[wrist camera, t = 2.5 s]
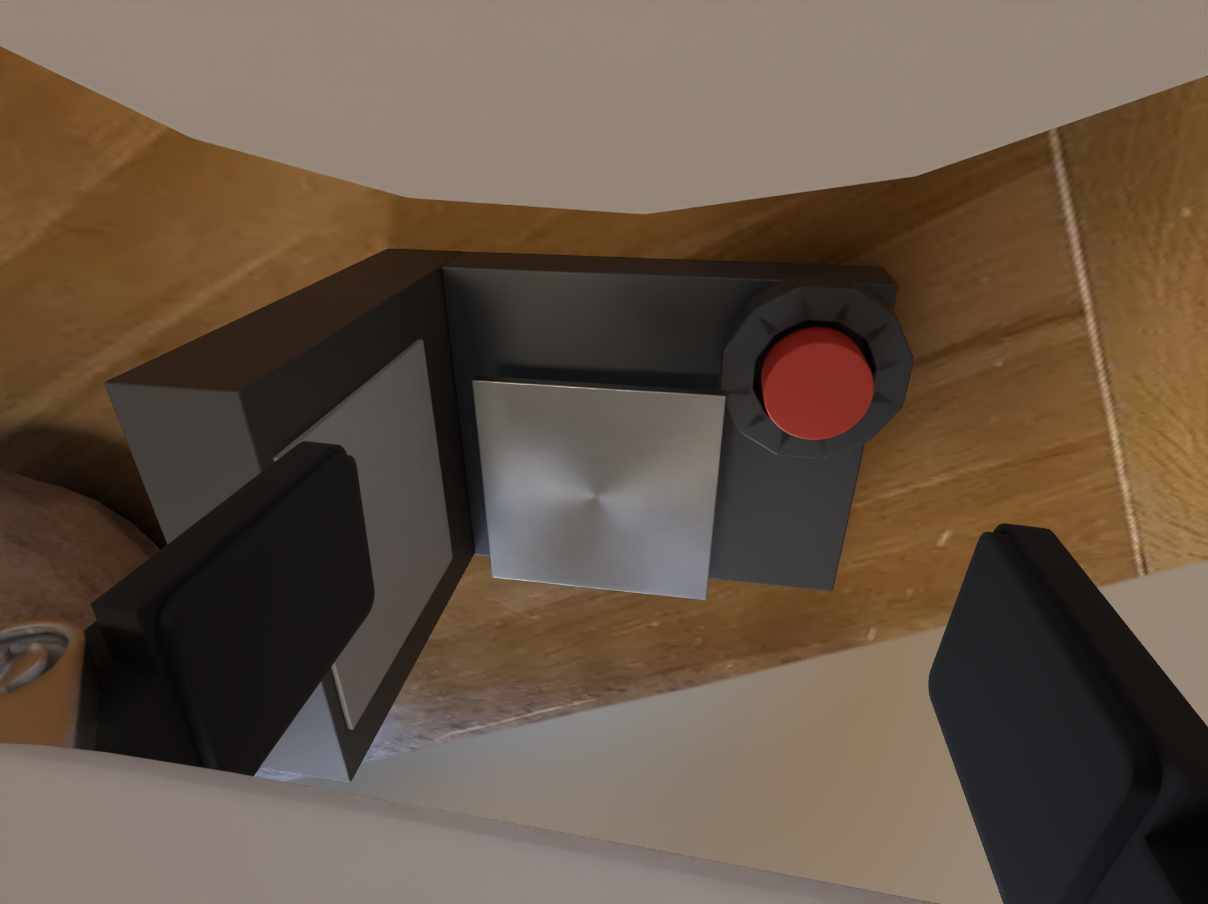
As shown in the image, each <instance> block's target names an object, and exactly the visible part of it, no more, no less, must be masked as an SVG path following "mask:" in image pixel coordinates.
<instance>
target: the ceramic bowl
mask: <svg viewBox="0 0 1208 904" xmlns="http://www.w3.org/2000/svg"><path fill="white" fill-rule="evenodd" d="M158 551H160V549H159V548H158V547H157V546H156V545H155V544H154V543H153V542H152V541H151V540H150V539H149V538H148V537H147V536H146V535H145V534H144V533H143V532H142V531H141V530H140V529H138V528H137V527H136V526H135V525H134V524H133V523H131V522H130V521H128V520H127V519H125V518H123V517H122V516H120V515H118V514H117V513H115V512H114V511H112V510H110V509H109V508H107V507H106V506H104V505H102V504H101V503H99V502H98V501H96V500H93V499H91V498H88V497H86V496H83V495H81V494H78V493H76V492H73V491H71V490H68V489H66V488H63V487H61V486H58V485H53V484H49V483H45V482H41V481H37V480H34V479H31V478H27V477H24V476H21V475H18V474H15V473H12V472H9V471H0V627H1V626H4V625H7V624H10V623H13V622H18V621H23V620H29V619H34V618H57V617H58V618H62V619H66V620H71V621H74V622H75V623H76V624H78V625H79V626H80V627H81V628H82V629H83V631H84V630H85V629H87V628H88V627H89V626H90V625H92V624H93V623H94V622H95V621H97V620H96V617H95V615H94V612H93V610H92V607H91V605H90V604H91V603H92V602H93V601H95V600H96V599H97V598H99V597H100V596H101V595H103V594H104V593H105V592H106V591H108V590H109V589H110V588H112V587H113V586H114V585H116V584H117V583H118V582H119V581H121V580H122V579H123V578H125V577H126V576H127V575H129V574H130V573H131V572H132V571H134V570H135V569H136V568H138V567H139V566H140V565H142V564H143V563H144V562H145V561H147V560H148V559H149V558H151V557H152V556H153V555H154V554H156V553H157V552H158Z"/></svg>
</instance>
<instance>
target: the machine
mask: <svg viewBox="0 0 1208 904" xmlns="http://www.w3.org/2000/svg"><path fill="white" fill-rule="evenodd" d="M441 271H442V279H443V288H444V296H445V305H446V313H447V322H448V331H449V339H450V348H451V356H452V365H453V373H454V382H455V390H456V399H457V408H458V416H459V425H460V433H461V442H462V450H463V459H464V467H465V476H466V484H467V493H468V502H469V510H470V519H471V527H472V536H473V544H474V553H475V554H476V555H484V556H490V550H489V541H488V531H487V521H486V512H485V502H484V492H483V482H482V473H481V463H480V453H479V444H478V434H477V424H476V415H475V405H474V395H473V385H472V380H473V378H474V377H475V376H490V377H506V378H522V379H538V380H554V381H570V382H585V383H601V384H617V385H633V386H649V387H665V388H681V389H696V390H712V391H725V392H726V404H725V414H724V424H723V435H722V445H721V455H720V465H719V476H718V486H717V496H716V506H715V517H714V527H713V537H712V548H711V558H710V568H709V579H719V580H729V581H739V582H748V583H758V584H768V585H778V586H787V587H797V588H807V589H817V590H827V591H832V590H833V588H834V583H835V578H836V574H837V569H838V564H839V560H840V555H841V550H842V546H843V541H844V537H845V532H846V527H847V523H848V518H849V513H850V509H851V504H852V499H853V495H854V490H855V485H856V481H857V476H858V471H859V467H860V462H861V458H862V453H863V448H864V444H865V443H866V442H868V441H870V440H872V438H873V437H874V436H875V435H876V434H877V433H878V432H879V431H880V430H881V429H882V428H883V427H884V426H885V425H886V424H887V423H888V422H889V420H890V419H891V418H892V417H893V416H894V415H895V414H896V413H897V412H898V411H899V410H900V409H901V408H902V405H903V404H904V400H905V396H906V392H907V388H908V383H909V379H910V375H911V371H912V367H913V363H914V361H913V355H912V352H911V350H910V347H909V345H908V342H907V340H906V337H905V334H904V332H903V329H902V327H901V324H900V322H899V319H898V317H897V316H896V314H895V313H894V312H893V309H894V304H895V300H896V295H897V290H898V284H897V283H896V282H895V280H894V279H893V278H892V277H891V276H890V275H889V274H888V273H887V271H886V270H885V269H884V268H883V267H867V266H839V265H811V264H784V263H756V262H728V261H701V260H673V259H645V258H617V257H590V256H562V255H534V254H507V253H479V252H464V253H462V254H461V255H459V256H458V257H456V258H454V259H453V260H451V261H450V262H448V263H446V264H445V265H443V266H442V267H441ZM806 327H828V328H832V329H835V330H838V331H840V332H842V333H844V334H846V335H847V336H849V337H850V338H851V339H852V340H853V341H854V342H855V343H856V344H857V346H858V347H859V349H860V350H861V352H862V354H863V356H864V358H865V360H866V362H867V364H868V366H869V368H870V370H871V373H872V376H873V381H874V393H873V398H872V401H871V404H870V406H869V408H868V410H867V412H866V413H865V415H864V416H863V417H862V418H861V420H860V421H859V422H858V423H857V424H855V425H854V426H853V427H852V428H850V429H849V430H847V431H845V432H844V433H841V434H839V435H837V436H834V437H831V438H826V439H818V440H810V439H803V438H799V437H796V436H793V435H790V434H788V433H787V432H785V431H783V430H782V429H780V428H779V427H778V426H777V425H776V424H775V423H774V422H773V421H772V419H771V418H770V416H769V415H768V413H767V410H766V408H765V404H764V398H763V390H762V382H761V372H762V366H763V363H764V360H765V358H766V356H767V354H768V353H769V351H770V350H771V348H772V347H773V346H774V345H775V344H776V343H777V342H778V341H779V340H780V339H782V338H783V337H785V336H786V335H788V334H790V333H791V332H794V331H796V330H799V329H802V328H806Z"/></svg>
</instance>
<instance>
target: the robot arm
mask: <svg viewBox="0 0 1208 904" xmlns="http://www.w3.org/2000/svg"><path fill="white" fill-rule="evenodd" d="M374 596H375V589H374V582H373V575H372V568H371V561H370V554H369V547H368V540H367V533H366V526H365V520H364V513H363V506H362V499H361V492H360V485H359V478H358V471H357V465H356V461H355V459H354V457H352V456H351V455H347V452H346V451H345V449H344V448H343V447H342V446H341V445H336V444H328V443H319V442H311V441H303V442H301V443H299V444H297V445H296V446H295V447H293V448H292V449H291V450H290V451H288V452H287V453H286V454H284V455H283V456H282V457H280V458H279V459H278V460H277V461H275V462H274V463H273V464H271V465H270V466H269V467H267V468H266V469H265V470H264V471H262V472H261V473H260V474H258V475H257V476H256V477H254V478H253V479H252V480H251V481H249V482H248V483H247V484H245V485H244V486H243V487H241V488H240V489H239V490H238V491H236V492H235V493H234V494H232V495H231V496H230V497H228V498H227V499H226V500H225V501H223V502H222V503H221V504H219V505H218V506H217V507H216V508H214V509H213V510H212V511H210V512H209V513H208V514H206V515H205V516H204V517H203V518H201V519H200V520H199V521H197V522H196V523H195V524H193V525H192V526H191V527H190V528H188V529H187V530H186V531H184V532H183V533H182V534H180V535H179V536H178V537H177V538H175V539H174V540H173V541H171V542H170V543H169V544H167V545H166V546H165V547H164V548H162V549H161V550H160V551H158V552H157V553H156V554H154V555H153V556H152V557H151V558H149V559H148V560H147V561H145V562H144V563H143V564H142V565H140V566H139V567H138V568H136V569H135V570H134V571H132V572H131V573H130V574H129V575H127V576H126V577H125V578H123V579H122V580H121V581H119V582H118V583H117V584H116V585H114V586H113V587H112V588H110V589H109V590H108V591H106V592H105V593H104V594H103V595H101V596H100V597H99V598H97V599H96V600H95V601H93V602H92V603H91V604H90V605H91V607H92V610H93V612H94V615H95V617H96V620H97V621H95V622H94V623H93V624H92V625H90V626H89V627H88V628H87V629H85V630H84V631H83V629H82V628H81V627H80V626H79V625H78V624H76V623H75V622H74V621H71V620H66V619H62V618H58V617H57V618H34V619H29V620H23V621H18V622H13V623H10V624H7V625H4V626H1V627H0V904H938V903H933V902H928V901H922V900H917V899H911V898H907V897H901V896H896V895H891V894H886V893H880V892H875V891H870V890H865V889H860V888H854V887H849V886H844V885H839V884H833V883H828V882H823V881H818V880H812V879H807V878H802V877H796V876H791V875H786V874H781V873H775V872H771V871H765V870H759V869H755V868H749V867H744V866H739V865H733V864H729V863H723V862H718V861H713V860H708V859H702V858H697V857H691V856H686V855H681V854H675V853H670V852H665V851H660V850H654V849H648V848H643V847H638V846H633V845H627V844H622V843H616V842H611V841H606V840H600V839H595V838H590V837H584V836H579V835H574V834H568V833H563V832H557V831H552V830H546V829H541V828H536V827H530V826H524V825H519V824H514V823H509V822H502V821H497V820H492V819H487V818H481V817H476V816H470V815H465V814H460V813H454V812H449V811H444V810H438V809H432V808H427V807H421V806H415V805H410V804H405V803H399V802H393V801H388V800H382V799H377V798H371V797H366V796H360V795H354V794H348V793H343V792H338V791H332V790H327V789H321V788H315V787H310V786H304V785H298V784H293V783H288V782H282V781H276V780H271V779H265V778H260V777H254V775H255V773H256V772H257V771H258V769H259V768H260V766H261V765H262V764H263V762H264V761H265V759H266V758H267V757H268V755H269V754H270V752H271V751H272V750H273V748H274V747H275V745H276V744H277V742H278V741H279V740H280V738H281V737H282V735H283V734H284V733H285V731H286V730H287V728H288V727H289V726H290V724H291V723H292V721H293V720H294V719H295V717H296V716H297V714H298V713H299V712H300V710H301V709H302V707H303V706H304V705H305V703H306V702H307V700H308V699H309V698H310V696H311V695H312V693H313V692H314V690H315V689H316V688H317V686H318V685H319V683H320V682H321V681H322V679H323V678H324V676H325V675H326V674H327V672H328V671H329V669H330V668H331V667H332V665H333V664H334V662H335V661H336V660H337V658H338V657H339V655H340V654H341V653H342V651H343V650H344V648H345V647H346V646H347V644H348V643H349V641H350V640H351V638H352V637H353V636H354V634H355V633H356V631H357V630H358V629H359V627H360V626H361V624H362V623H363V622H364V620H365V619H366V617H367V616H368V614H369V613H370V611H371V609H372V606H373V602H374ZM929 695H930V699H931V702H932V704H933V707H934V710H935V713H936V716H937V719H938V721H939V724H940V727H941V730H942V733H943V735H944V738H945V741H946V744H947V746H948V749H949V752H950V755H951V758H952V760H953V763H954V766H955V769H956V772H957V775H958V777H959V780H960V783H961V786H962V788H963V791H964V794H965V797H966V800H967V803H968V805H969V808H970V811H971V814H972V816H973V819H974V822H975V825H976V828H977V831H978V833H979V836H980V839H981V842H982V845H983V847H984V850H985V853H986V856H987V858H988V861H989V864H990V867H991V870H992V873H993V875H994V878H995V881H996V884H997V887H998V889H999V892H1000V895H1001V898H1002V901H1003V903H1004V904H1208V727H1207V726H1206V724H1205V723H1204V722H1203V720H1202V719H1201V718H1200V717H1199V715H1198V714H1197V713H1196V712H1195V710H1194V709H1193V708H1192V707H1191V705H1190V704H1189V703H1188V701H1187V700H1186V699H1185V698H1184V697H1183V695H1182V694H1181V693H1180V691H1179V690H1178V689H1177V688H1176V686H1175V685H1174V684H1173V683H1172V681H1171V680H1170V679H1169V678H1168V676H1167V675H1166V674H1165V673H1164V671H1163V670H1162V669H1161V668H1160V666H1159V665H1158V664H1157V662H1156V661H1155V660H1154V659H1153V657H1152V656H1151V655H1150V654H1149V652H1148V651H1147V650H1146V649H1145V647H1144V646H1143V645H1142V644H1141V642H1140V641H1139V640H1138V639H1137V637H1136V636H1135V635H1134V634H1133V632H1132V631H1131V630H1130V629H1129V627H1128V626H1127V625H1126V624H1125V622H1124V621H1123V620H1122V619H1121V617H1120V616H1119V615H1118V614H1117V612H1116V611H1115V610H1114V608H1113V607H1112V606H1111V605H1110V603H1109V602H1108V601H1107V600H1106V599H1105V597H1104V596H1103V595H1102V593H1101V592H1100V591H1099V590H1098V588H1097V587H1096V586H1095V585H1094V583H1093V582H1092V581H1091V579H1090V578H1089V577H1088V576H1087V574H1086V573H1085V572H1084V571H1083V569H1082V568H1081V567H1080V566H1079V564H1078V563H1077V562H1076V561H1075V559H1074V558H1073V557H1072V556H1071V554H1070V553H1069V552H1068V551H1067V549H1066V548H1065V547H1064V546H1063V544H1062V543H1061V542H1060V540H1059V539H1058V538H1057V537H1056V535H1055V534H1054V533H1053V532H1052V531H1051V530H1049V529H1046V528H1038V527H1030V526H1021V525H1013V524H1004V523H1003V524H1000V525H998V526H997V528H996V529H995V530H994V532H985V533H983V534H982V535H981V536H980V538H979V541H978V543H977V546H976V548H975V551H974V554H973V556H972V559H971V562H970V565H969V567H968V570H967V573H966V575H965V578H964V581H963V584H962V586H961V589H960V592H959V594H958V597H957V600H956V603H955V605H954V608H953V611H952V613H951V616H950V619H949V622H948V624H947V627H946V630H945V632H944V635H943V638H942V641H941V643H940V646H939V649H938V651H937V654H936V657H935V659H934V662H933V665H932V668H931V670H930V674H929Z"/></svg>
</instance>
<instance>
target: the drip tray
mask: <svg viewBox="0 0 1208 904" xmlns="http://www.w3.org/2000/svg"><path fill="white" fill-rule="evenodd" d="M472 385H473V395H474V405H475V415H476V424H477V434H478V444H479V453H480V463H481V473H482V482H483V492H484V502H485V512H486V521H487V531H488V541H489V550H490V560H491V570H492V577H496V578H505V579H515V580H524V581H533V582H543V583H552V584H562V585H571V586H580V587H590V588H599V589H608V590H618V591H627V592H636V593H646V594H655V595H665V596H674V597H683V598H693V599H702V600H706V599H707V589H708V578H709V568H710V558H711V548H712V537H713V527H714V517H715V506H716V496H717V486H718V476H719V465H720V455H721V445H722V435H723V424H724V414H725V404H726V392H725V391H712V390H696V389H681V388H665V387H649V386H633V385H617V384H601V383H585V382H570V381H554V380H538V379H522V378H506V377H490V376H475V377H474V378H473V380H472Z"/></svg>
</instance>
